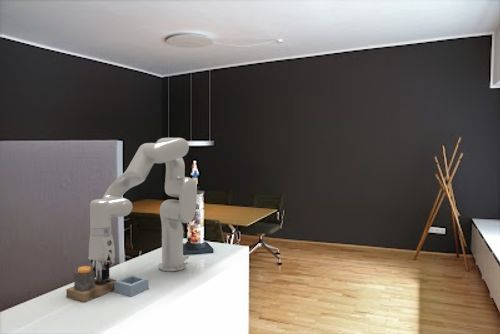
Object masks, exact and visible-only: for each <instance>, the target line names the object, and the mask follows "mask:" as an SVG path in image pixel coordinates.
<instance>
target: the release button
mask: <svg viewBox="0 0 500 334" xmlns="http://www.w3.org/2000/svg"><path fill="white" fill-rule="evenodd" d="M91 271H92V265H91V266H90V265H83V266H82V265H81V266H78V268H77V272H78V273H80V274H86V273H89V272H91Z"/></svg>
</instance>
